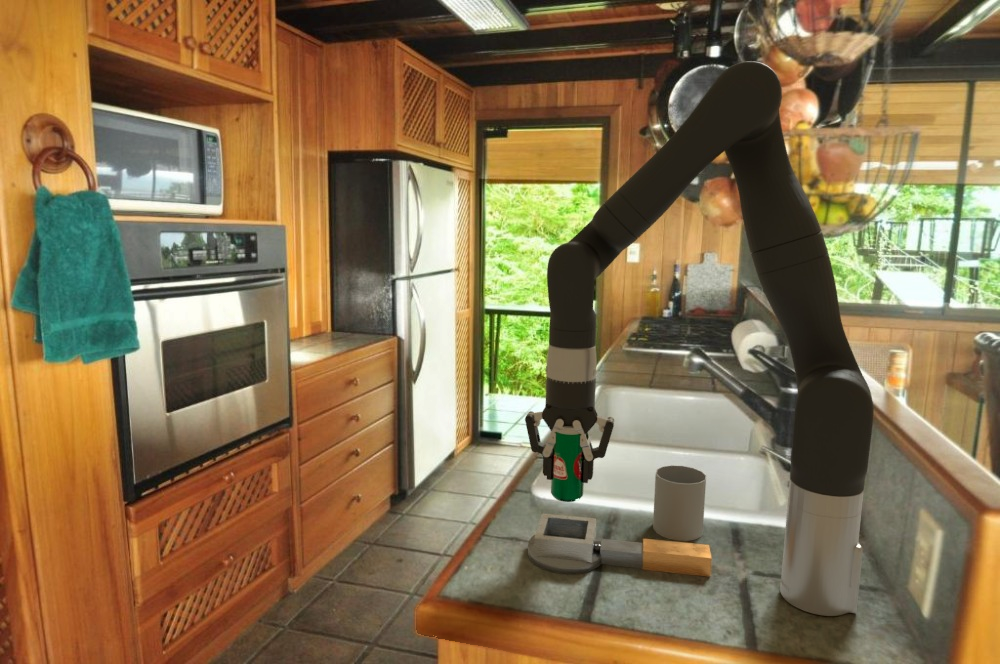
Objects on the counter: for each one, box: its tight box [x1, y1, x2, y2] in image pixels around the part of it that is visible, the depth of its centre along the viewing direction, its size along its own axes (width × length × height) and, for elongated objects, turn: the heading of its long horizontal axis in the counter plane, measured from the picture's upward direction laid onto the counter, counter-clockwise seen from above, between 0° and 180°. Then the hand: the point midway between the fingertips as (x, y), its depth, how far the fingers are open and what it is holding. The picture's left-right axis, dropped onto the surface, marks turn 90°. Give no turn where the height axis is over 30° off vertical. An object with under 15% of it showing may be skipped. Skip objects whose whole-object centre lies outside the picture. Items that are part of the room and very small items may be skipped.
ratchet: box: [527, 513, 713, 577], centre depth 107 cm, size 28×12×4 cm, turn 78°
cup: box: [652, 464, 707, 542], centre depth 117 cm, size 8×8×10 cm
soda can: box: [550, 426, 585, 503], centre depth 106 cm, size 5×5×12 cm
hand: (567, 479), depth 107 cm, fingers closed on soda can, 5 cm apart
